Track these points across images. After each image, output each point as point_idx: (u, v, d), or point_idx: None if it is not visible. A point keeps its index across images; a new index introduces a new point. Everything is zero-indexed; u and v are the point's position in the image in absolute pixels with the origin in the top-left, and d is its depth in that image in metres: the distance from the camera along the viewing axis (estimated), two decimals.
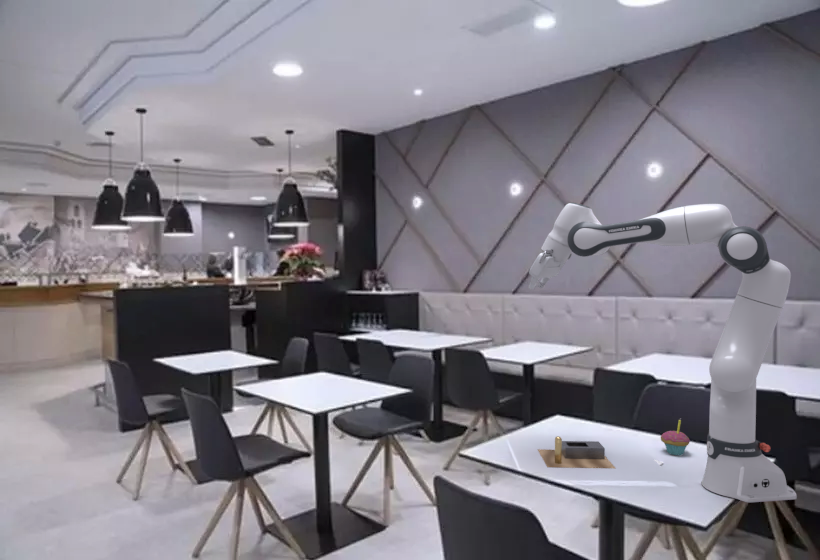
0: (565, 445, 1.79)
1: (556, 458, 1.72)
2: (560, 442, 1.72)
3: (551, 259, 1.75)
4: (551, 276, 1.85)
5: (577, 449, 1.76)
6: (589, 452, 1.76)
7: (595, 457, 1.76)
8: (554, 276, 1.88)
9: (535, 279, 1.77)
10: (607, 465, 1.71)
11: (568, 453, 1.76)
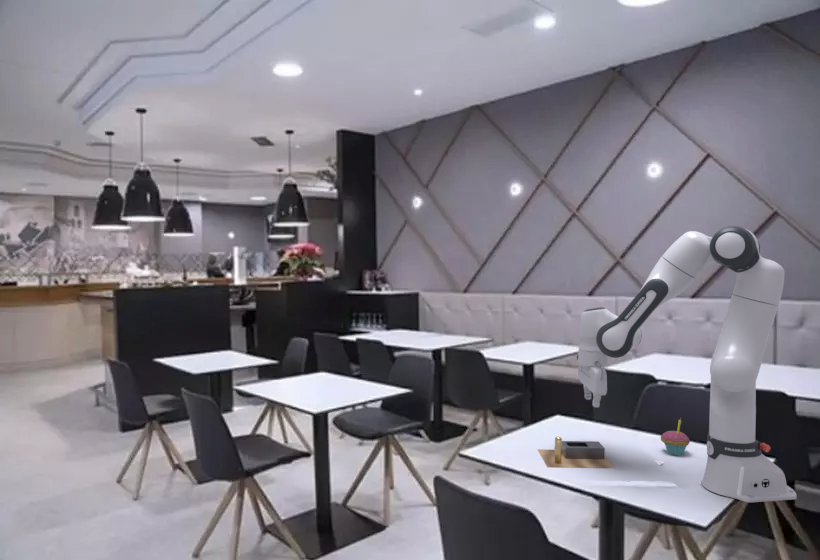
0: (565, 445, 1.79)
1: (556, 458, 1.72)
2: (560, 442, 1.72)
3: None
4: None
5: (577, 449, 1.76)
6: (589, 452, 1.76)
7: (595, 457, 1.76)
8: None
9: (599, 396, 1.73)
10: (607, 465, 1.71)
11: (568, 453, 1.76)
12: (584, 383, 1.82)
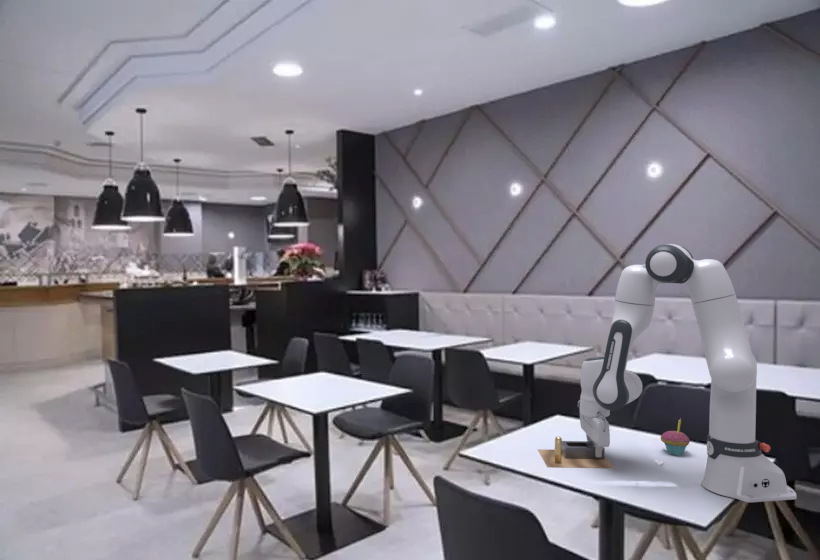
0: (565, 445, 1.79)
1: (556, 458, 1.72)
2: (560, 442, 1.72)
3: None
4: None
5: (577, 449, 1.76)
6: (589, 452, 1.76)
7: (595, 457, 1.76)
8: None
9: (601, 446, 1.73)
10: (607, 465, 1.71)
11: (568, 453, 1.76)
12: (586, 432, 1.82)
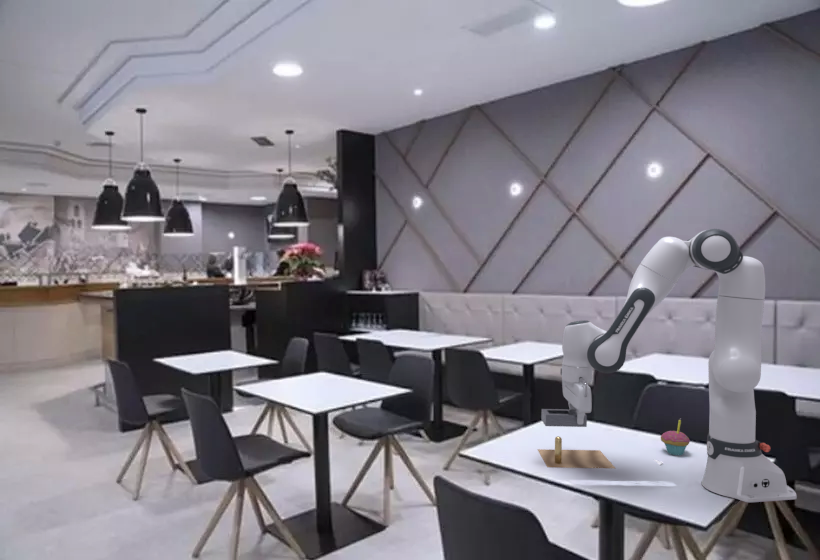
0: (546, 412, 1.71)
1: (556, 458, 1.72)
2: (560, 442, 1.72)
3: None
4: None
5: (558, 416, 1.69)
6: (570, 419, 1.69)
7: (577, 425, 1.69)
8: None
9: (582, 413, 1.66)
10: (607, 465, 1.71)
11: (548, 421, 1.69)
12: (568, 399, 1.75)
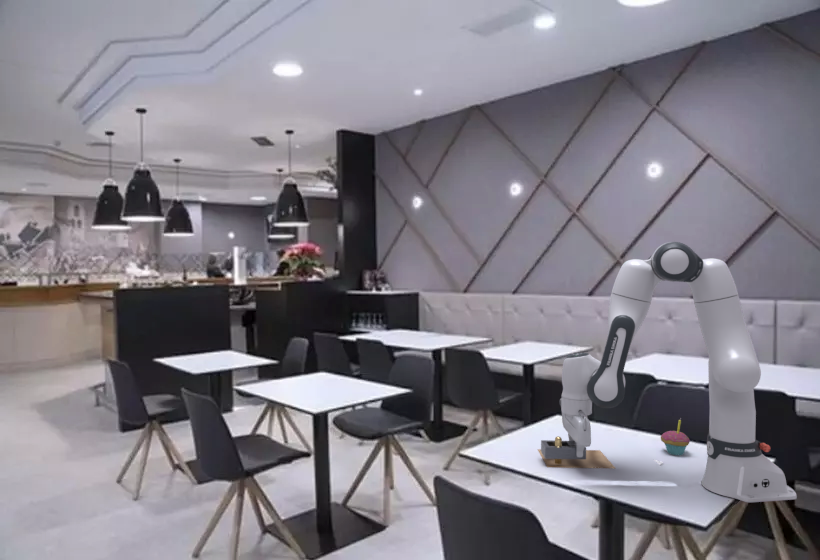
0: (545, 445, 1.72)
1: None
2: (560, 442, 1.72)
3: None
4: None
5: (557, 449, 1.70)
6: (570, 452, 1.69)
7: (576, 457, 1.69)
8: None
9: None
10: (607, 465, 1.71)
11: (548, 453, 1.70)
12: (568, 431, 1.75)
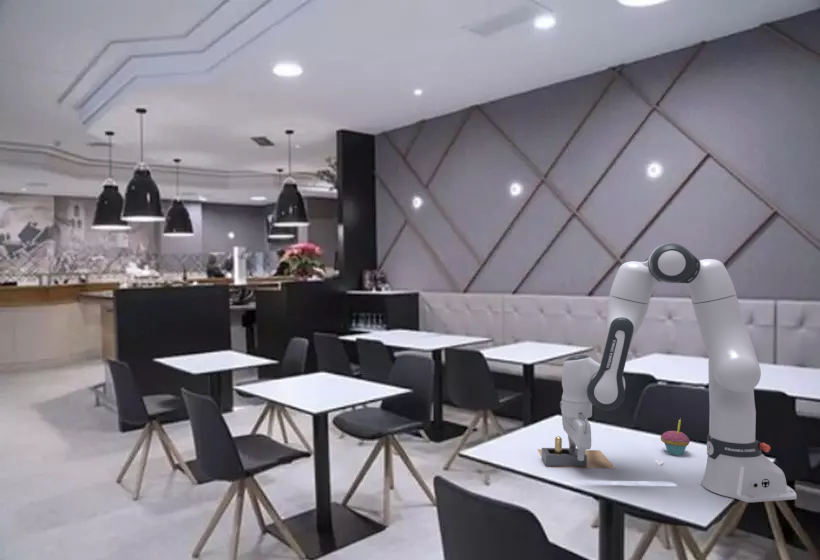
0: (546, 452, 1.72)
1: None
2: (560, 442, 1.72)
3: None
4: None
5: (558, 456, 1.70)
6: (571, 460, 1.69)
7: (577, 465, 1.69)
8: None
9: (583, 449, 1.66)
10: (607, 465, 1.71)
11: (549, 461, 1.70)
12: (568, 433, 1.75)
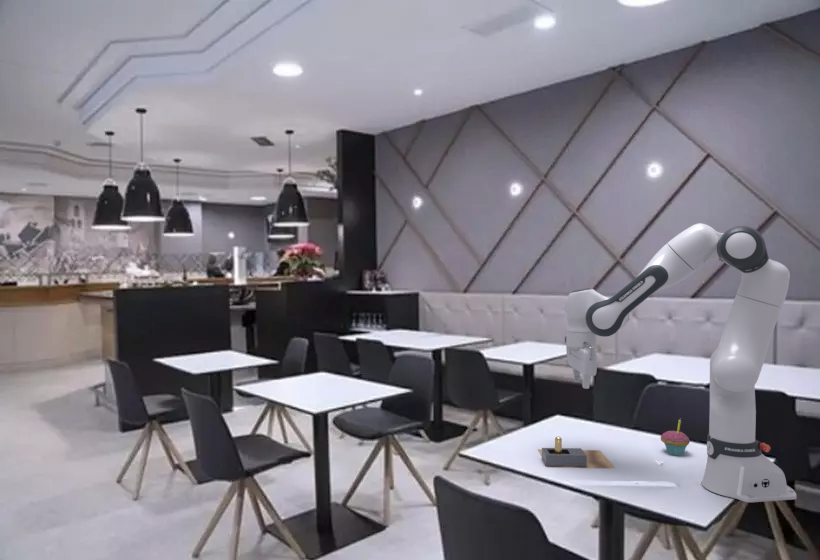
0: (546, 452, 1.72)
1: None
2: (560, 442, 1.72)
3: None
4: None
5: (558, 456, 1.70)
6: (571, 460, 1.69)
7: (577, 465, 1.69)
8: None
9: (588, 377, 1.71)
10: (607, 465, 1.71)
11: (549, 461, 1.70)
12: (573, 365, 1.80)
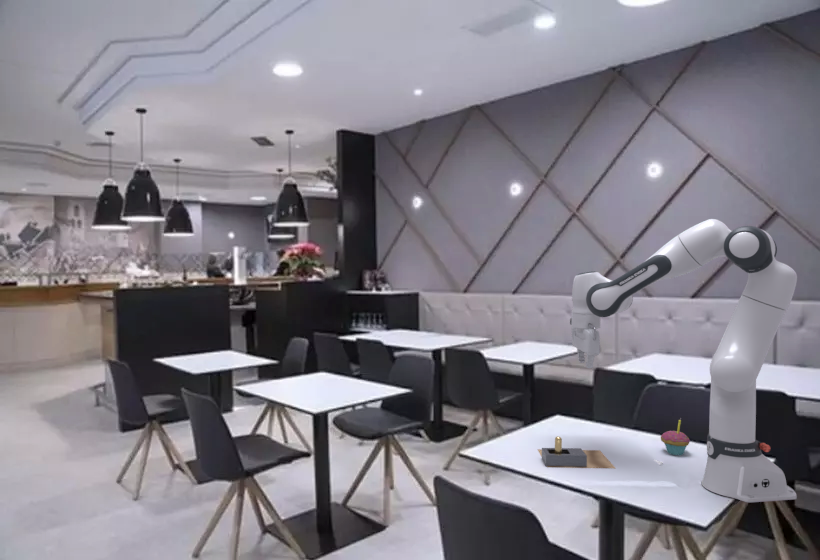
0: (546, 452, 1.72)
1: None
2: (560, 442, 1.72)
3: None
4: None
5: (558, 456, 1.70)
6: (571, 460, 1.69)
7: (577, 465, 1.69)
8: None
9: (592, 357, 1.77)
10: (607, 465, 1.71)
11: (549, 461, 1.70)
12: (577, 346, 1.86)
